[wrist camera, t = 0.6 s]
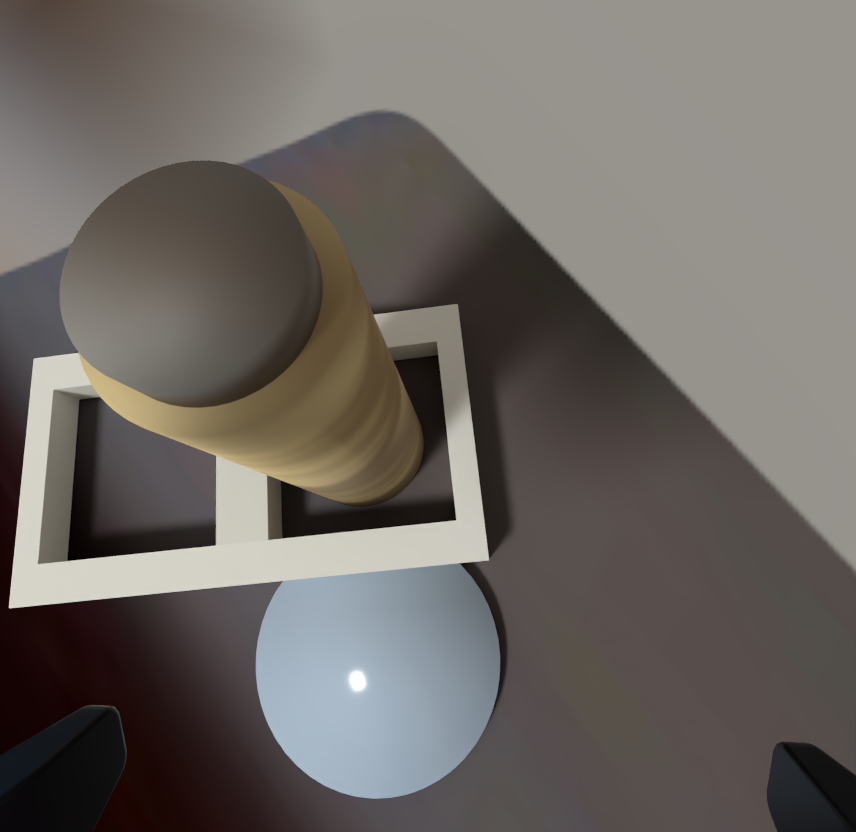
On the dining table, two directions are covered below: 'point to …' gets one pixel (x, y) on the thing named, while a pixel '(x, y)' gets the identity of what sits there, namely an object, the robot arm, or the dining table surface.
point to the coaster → (378, 676)
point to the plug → (240, 331)
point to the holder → (236, 498)
